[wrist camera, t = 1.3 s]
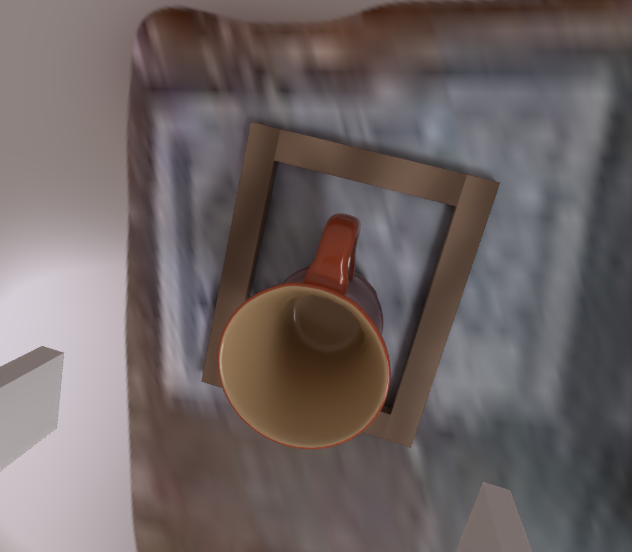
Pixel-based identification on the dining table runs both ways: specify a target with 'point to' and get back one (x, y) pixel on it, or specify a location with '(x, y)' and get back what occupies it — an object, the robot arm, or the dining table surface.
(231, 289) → the frame
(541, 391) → the dining table surface
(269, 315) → the mug
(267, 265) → the dining table surface
